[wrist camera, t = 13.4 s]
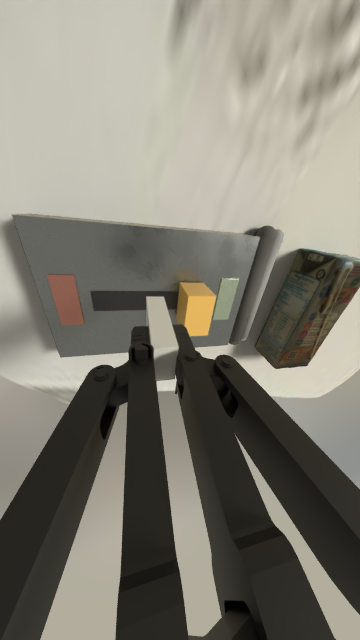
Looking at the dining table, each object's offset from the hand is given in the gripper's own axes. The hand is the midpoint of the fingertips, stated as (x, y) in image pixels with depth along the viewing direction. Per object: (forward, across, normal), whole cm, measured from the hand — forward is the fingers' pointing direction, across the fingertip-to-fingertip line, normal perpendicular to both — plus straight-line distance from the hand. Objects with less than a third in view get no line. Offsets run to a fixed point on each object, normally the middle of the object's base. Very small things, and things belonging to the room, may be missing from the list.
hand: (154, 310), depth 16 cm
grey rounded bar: (+9, +14, -2) cm, 17 cm away
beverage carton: (+10, +25, -5) cm, 27 cm away
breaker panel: (+9, 0, -2) cm, 9 cm away
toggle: (+6, +5, -2) cm, 8 cm away
